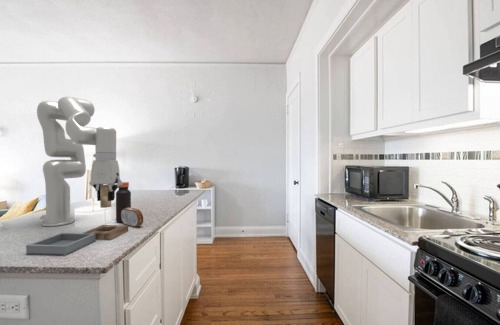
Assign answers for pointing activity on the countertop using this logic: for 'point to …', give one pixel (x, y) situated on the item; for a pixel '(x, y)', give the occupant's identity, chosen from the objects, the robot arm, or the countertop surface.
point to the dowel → (104, 196)
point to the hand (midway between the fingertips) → (105, 200)
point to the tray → (60, 244)
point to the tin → (132, 217)
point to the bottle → (122, 200)
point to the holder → (108, 231)
